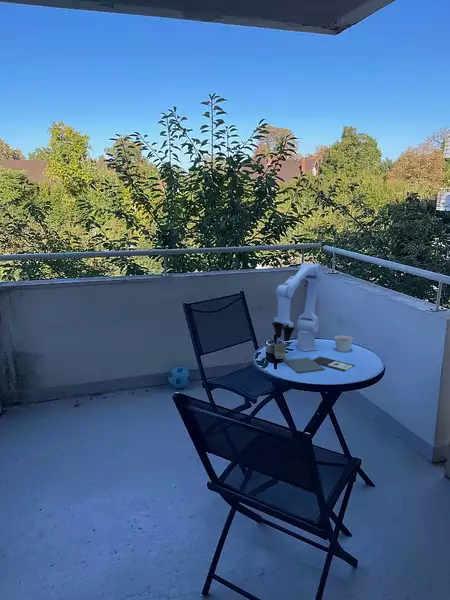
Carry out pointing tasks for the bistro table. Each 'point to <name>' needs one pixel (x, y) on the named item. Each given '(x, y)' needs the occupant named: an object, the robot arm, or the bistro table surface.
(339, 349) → the candle
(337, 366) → the chocolate bar
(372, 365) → the bistro table surface
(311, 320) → the robot arm
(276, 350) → the ash tile
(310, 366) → the rubber mat
